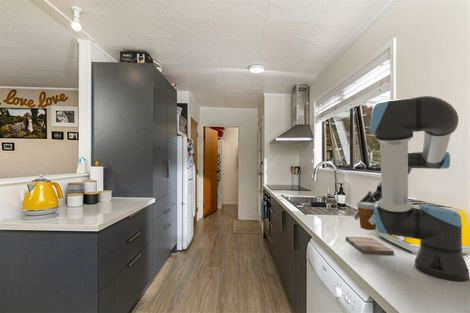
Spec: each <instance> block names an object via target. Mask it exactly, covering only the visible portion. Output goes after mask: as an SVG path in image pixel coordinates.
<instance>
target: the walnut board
mask: <svg viewBox="0 0 470 313" xmlns="http://www.w3.org/2000/svg"><path fill="white" fill-rule="evenodd" d="M345 240H346V241H347V242H348V243H349V244H351V245H352V246H353V247H355V248H356V250H358V251H360V252H361V253H362V254H372V255H395V250H393V249H392V248H389V247H388V246H387V245H385V244H383V243H381V242H380V241H378V240H377V239H375V238H373V237H369V236H368V237H367V236H366V237H365V236H364V237H363V236H345Z"/></svg>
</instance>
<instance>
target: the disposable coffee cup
mask: <svg viewBox="0 0 470 313" xmlns="http://www.w3.org/2000/svg"><path fill="white" fill-rule="evenodd" d="M357 203H358V204H356V206H357V209H358V212H359V218H358V220H359V225H360V228H361V229H362V230H366V231H376V230H377V228H376V224H375V223H374V225H372V224H371V223H370V222H369V219H370V218H371V217H372V215H373V214H374V206H375V205H376V204H378V202H374V203H372V202H360V201H358V202H357Z"/></svg>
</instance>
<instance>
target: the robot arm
mask: <svg viewBox="0 0 470 313" xmlns="http://www.w3.org/2000/svg"><path fill="white" fill-rule="evenodd" d="M458 125H459V114H458V112H457V110H456V109H455V108H454V107H453V105H451V104H450V103H449V102H448V101H446V100H444V99H442V98H440V97H436V96H430V95H429V96H428V95H425V96H423V95H422V96H418V97H417V96H416V97H407V98H399V99H390V100H384V101H379V102H376V103H375V104H374V105H373V107H372V111H371V118H370V125H369V126H370V127H369V129H370V132H369V133H370V134H371V135H374V138H375V140H376V141H377V142H378V143H379V146H380V147H379V148H380V152H379V154H380V174H381V177H380V178H381V180H380V183H378V185H377V186H376V190H375V191H374V192H373V191H368V192H367V194H366V195H365V196H364V197H363V198H362V199H360V201H359V202H372V203H377V204H376V205H375V206H374V214H373V215H372V217H371V218H370V219H369V222H370V223H371V224H372V225H374V223H375V224H376V230H377V231H378V232H379V233H381V234H385V235H388V236H395V237H402V238H408V239H414V240H415V239H416V240H420V241H419V242H420V245H419V249H418V251H417V254H416V257H415V258H414V267H415V268H416V269H417V270H419V271H421V272H422V273H424V274H426V275H429V276H432V277H435V278H437V279H438V278H439V279H442V280H443V279H444V280H448V281H456V282H465V281H468V280H470V270H469V268H468V266H467V263H466V260H465V258H464V256H463V243H462V242H463V240H462V238H463V235H462V234H463V232H462V231H463V230H462V229H463V224H462V216H461V214H460V213H458V212H456V211H455V210H452V209H448V208H444V207H440V206H435V205H430V204H429V205H427V204H420V206H419V208H418V207H414V204H413V203H412V201H410V200H409V174H410V173H411V171H412V169H433V170H440V169H442V170H443V169H448V168H450V167H451V154H450V153H449V152H448V151H447V150H448V145H449V142H450V139H451V135H452V134H453V133H454V132H455V131H456V130H457V129H458V128H457V127H458ZM415 132H424V135H423V144H422V146H423V147H422V151H409V141H410V140H412V138H414V133H415ZM357 204H358V202H357ZM357 204H356V205H357ZM352 217H353V219H354V220H356V221H358V220H359V212H358V208H357V209H356V210H355V213H353V215H352Z"/></svg>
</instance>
